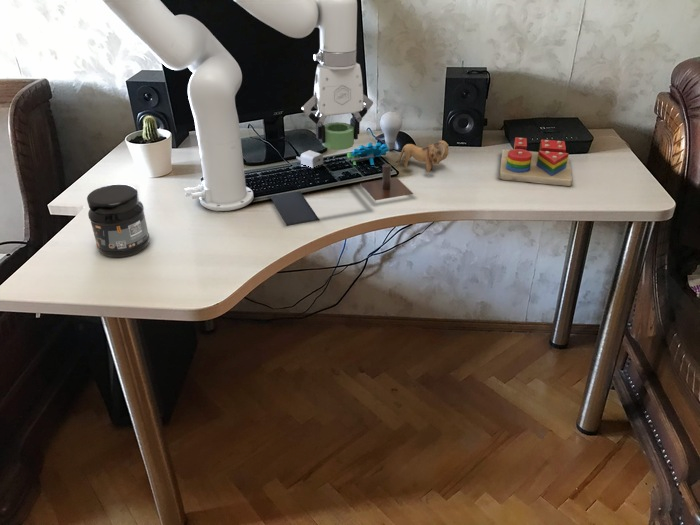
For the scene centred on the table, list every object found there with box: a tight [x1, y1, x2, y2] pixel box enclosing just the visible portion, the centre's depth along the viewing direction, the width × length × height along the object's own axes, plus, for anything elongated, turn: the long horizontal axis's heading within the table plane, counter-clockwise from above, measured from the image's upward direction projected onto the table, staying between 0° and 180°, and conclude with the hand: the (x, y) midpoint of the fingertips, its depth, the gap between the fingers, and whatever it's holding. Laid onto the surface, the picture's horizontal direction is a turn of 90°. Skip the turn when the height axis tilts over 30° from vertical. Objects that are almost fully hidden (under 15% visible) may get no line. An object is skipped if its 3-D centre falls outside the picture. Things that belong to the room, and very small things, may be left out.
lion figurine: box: [395, 140, 450, 172], centre depth 154 cm, size 15×5×9 cm, turn 67°
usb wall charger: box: [295, 149, 324, 169], centre depth 157 cm, size 4×7×4 cm, turn 49°
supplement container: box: [86, 183, 151, 258], centre depth 121 cm, size 10×10×12 cm
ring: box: [321, 122, 355, 151], centre depth 133 cm, size 7×7×4 cm
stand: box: [359, 163, 414, 201], centre depth 143 cm, size 10×10×7 cm
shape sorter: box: [499, 136, 573, 187], centre depth 155 cm, size 18×17×6 cm
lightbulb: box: [379, 111, 403, 151], centre depth 165 cm, size 6×6×11 cm
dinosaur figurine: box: [346, 142, 390, 166], centre depth 157 cm, size 11×6×10 cm
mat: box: [269, 190, 320, 226], centre depth 140 cm, size 20×15×1 cm
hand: (337, 138), depth 133 cm, fingers closed on ring, 7 cm apart
